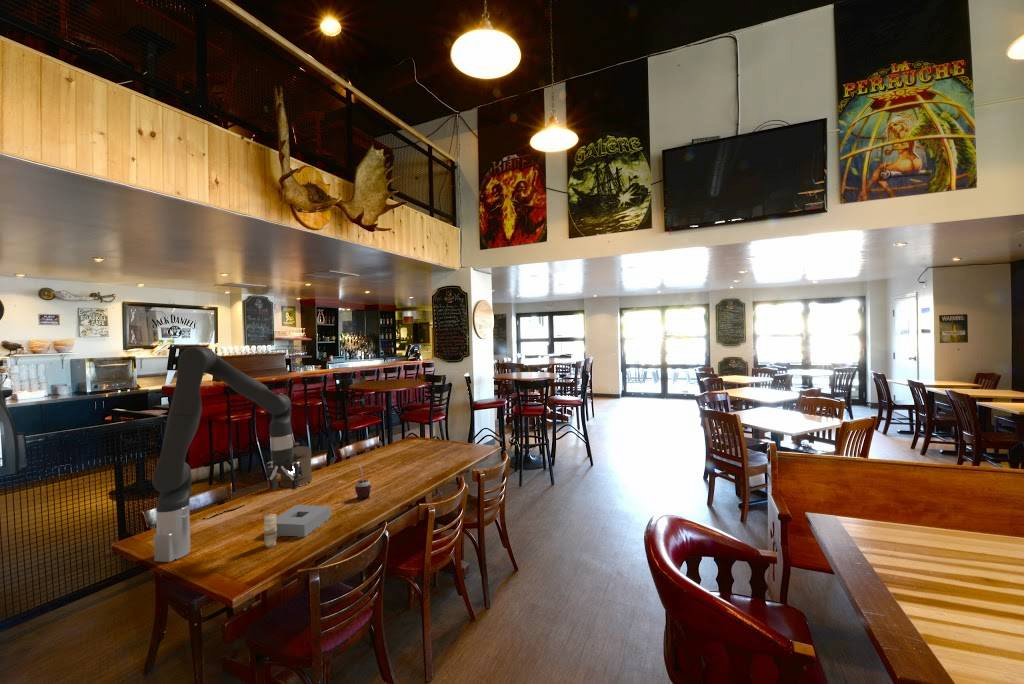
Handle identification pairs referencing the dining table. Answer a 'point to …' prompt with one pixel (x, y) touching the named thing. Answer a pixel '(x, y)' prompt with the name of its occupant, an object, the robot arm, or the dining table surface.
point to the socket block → (301, 520)
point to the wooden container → (305, 458)
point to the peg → (270, 530)
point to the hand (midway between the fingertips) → (285, 488)
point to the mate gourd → (363, 488)
